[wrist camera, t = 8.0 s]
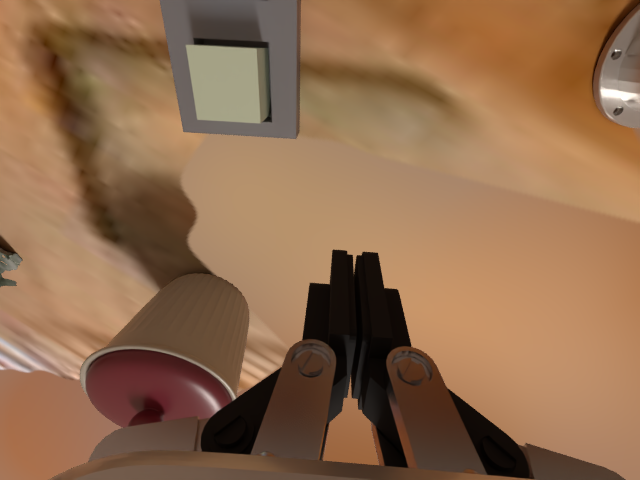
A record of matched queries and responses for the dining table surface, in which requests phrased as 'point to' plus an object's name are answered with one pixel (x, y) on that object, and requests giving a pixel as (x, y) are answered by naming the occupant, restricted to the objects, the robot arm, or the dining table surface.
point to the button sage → (230, 82)
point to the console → (246, 31)
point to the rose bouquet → (8, 266)
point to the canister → (172, 355)
